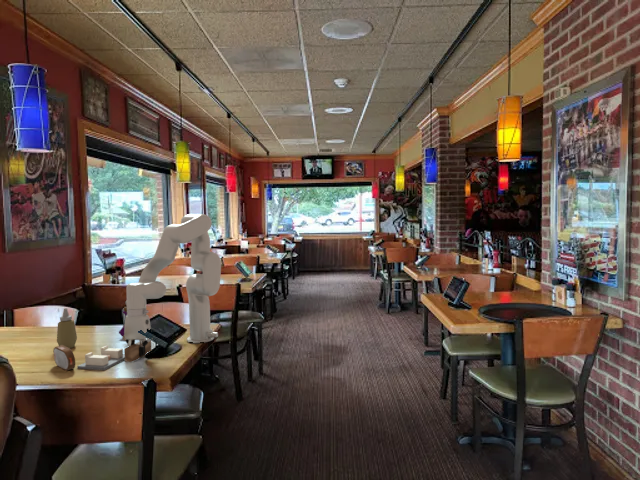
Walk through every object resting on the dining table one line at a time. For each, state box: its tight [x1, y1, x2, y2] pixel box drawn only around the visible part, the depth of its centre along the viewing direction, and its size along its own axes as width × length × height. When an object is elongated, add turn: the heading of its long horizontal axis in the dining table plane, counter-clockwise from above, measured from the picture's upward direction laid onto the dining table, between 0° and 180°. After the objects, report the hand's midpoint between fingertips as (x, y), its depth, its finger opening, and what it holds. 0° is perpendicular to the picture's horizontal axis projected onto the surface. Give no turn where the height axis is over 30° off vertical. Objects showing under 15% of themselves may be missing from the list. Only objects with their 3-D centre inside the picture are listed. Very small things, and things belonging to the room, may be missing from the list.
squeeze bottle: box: [56, 308, 78, 349], centre depth 199 cm, size 8×8×18 cm
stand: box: [76, 345, 125, 371], centre depth 178 cm, size 12×16×5 cm
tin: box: [53, 345, 76, 371], centre depth 172 cm, size 15×3×8 cm, turn 51°
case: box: [123, 340, 152, 363], centre depth 185 cm, size 4×13×6 cm, turn 167°
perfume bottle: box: [118, 300, 127, 337], centre depth 215 cm, size 8×8×18 cm
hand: (137, 354), depth 184 cm, fingers closed on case, 3 cm apart
